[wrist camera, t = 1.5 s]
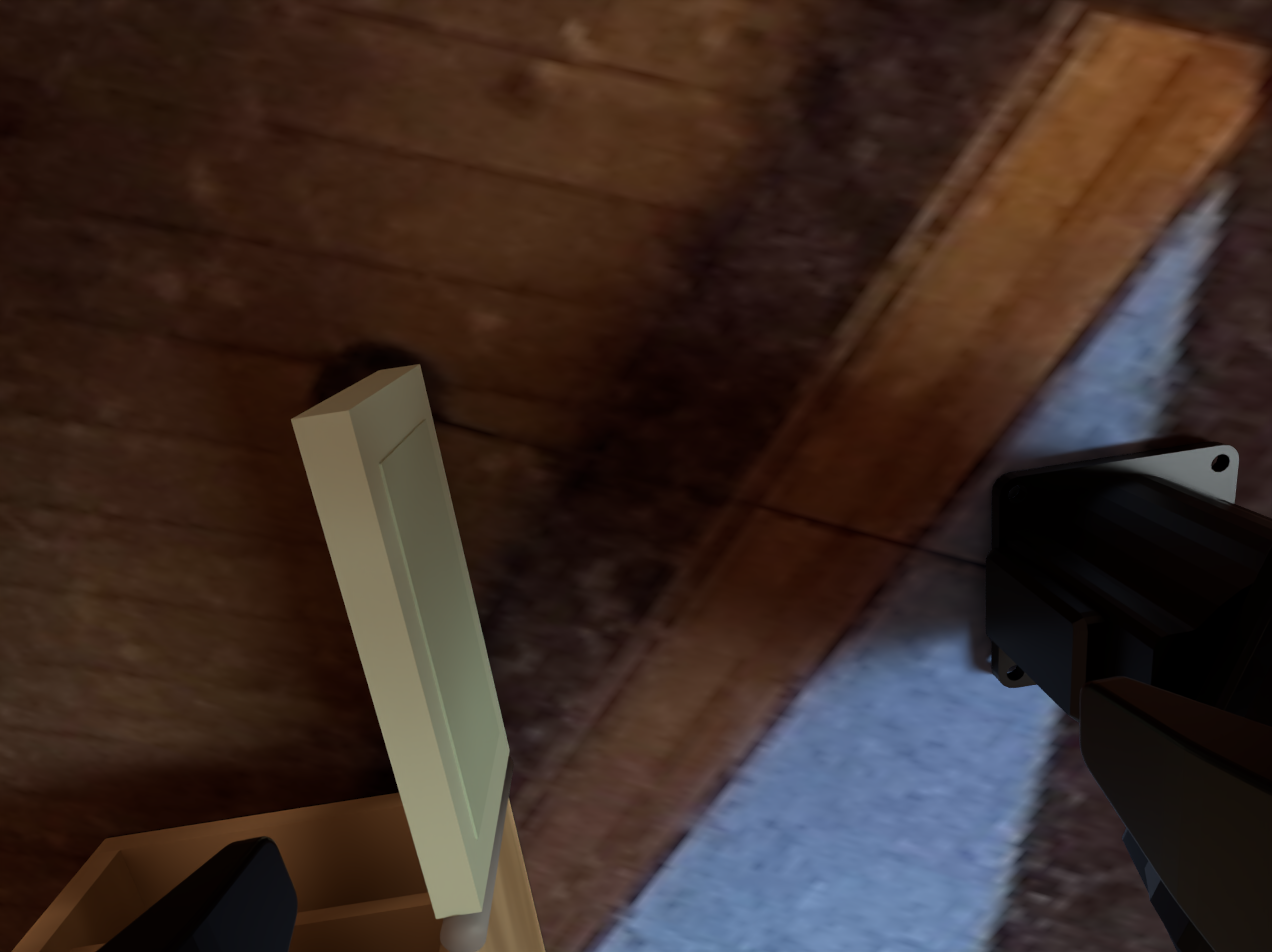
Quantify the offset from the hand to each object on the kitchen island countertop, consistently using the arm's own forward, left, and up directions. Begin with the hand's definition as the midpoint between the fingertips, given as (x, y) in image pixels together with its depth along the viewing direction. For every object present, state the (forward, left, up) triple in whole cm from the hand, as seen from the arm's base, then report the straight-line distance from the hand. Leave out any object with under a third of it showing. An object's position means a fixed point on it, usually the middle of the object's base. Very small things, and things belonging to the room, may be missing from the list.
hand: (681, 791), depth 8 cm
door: (+5, +2, -11) cm, 13 cm away
